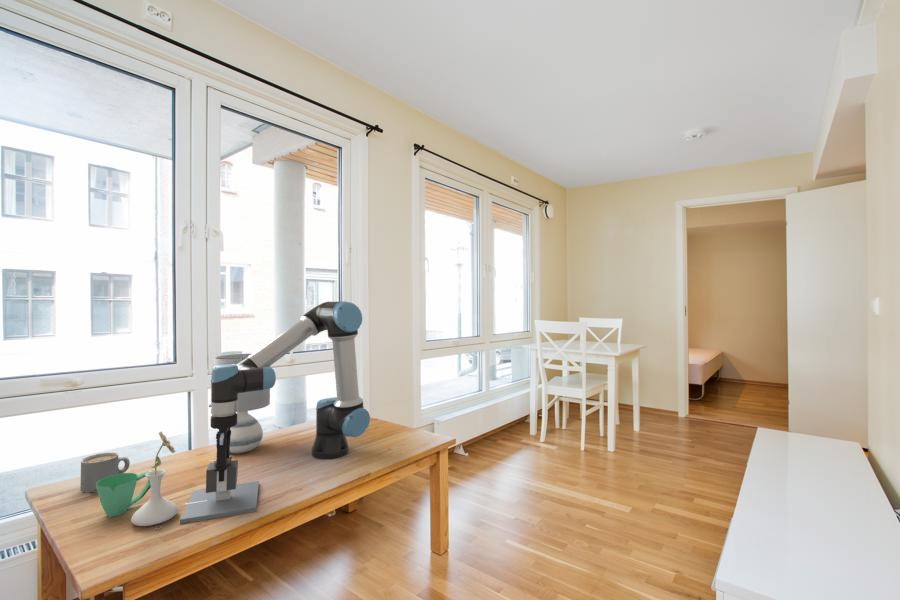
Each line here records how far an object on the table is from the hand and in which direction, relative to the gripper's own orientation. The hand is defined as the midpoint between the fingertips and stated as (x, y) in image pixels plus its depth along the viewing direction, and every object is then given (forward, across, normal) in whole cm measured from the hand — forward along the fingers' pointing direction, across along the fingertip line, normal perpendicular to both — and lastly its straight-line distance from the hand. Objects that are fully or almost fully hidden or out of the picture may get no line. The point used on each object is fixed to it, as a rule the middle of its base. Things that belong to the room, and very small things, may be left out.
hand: (222, 486), depth 133 cm
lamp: (+5, -50, +2) cm, 50 cm away
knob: (0, 0, 0) cm, 0 cm away
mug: (+6, -6, -27) cm, 28 cm away
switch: (+5, 0, 0) cm, 5 cm away
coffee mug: (+6, -29, -39) cm, 49 cm away
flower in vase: (+6, +4, -17) cm, 18 cm away
